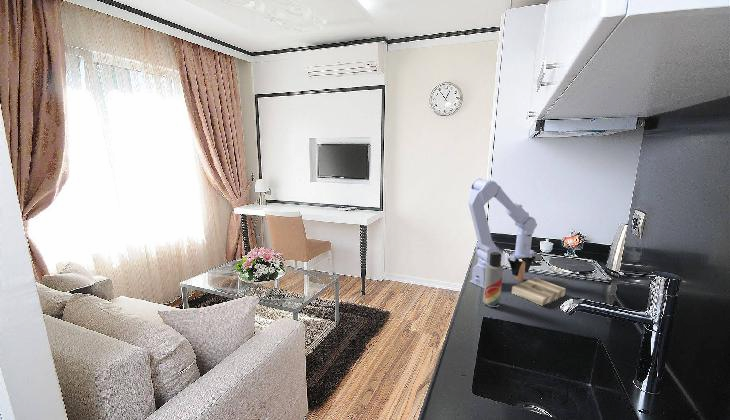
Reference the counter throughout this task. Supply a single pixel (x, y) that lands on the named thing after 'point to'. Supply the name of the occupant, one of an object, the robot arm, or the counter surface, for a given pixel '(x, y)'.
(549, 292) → the socket block
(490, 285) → the lotion bottle
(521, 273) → the peg
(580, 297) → the counter surface
